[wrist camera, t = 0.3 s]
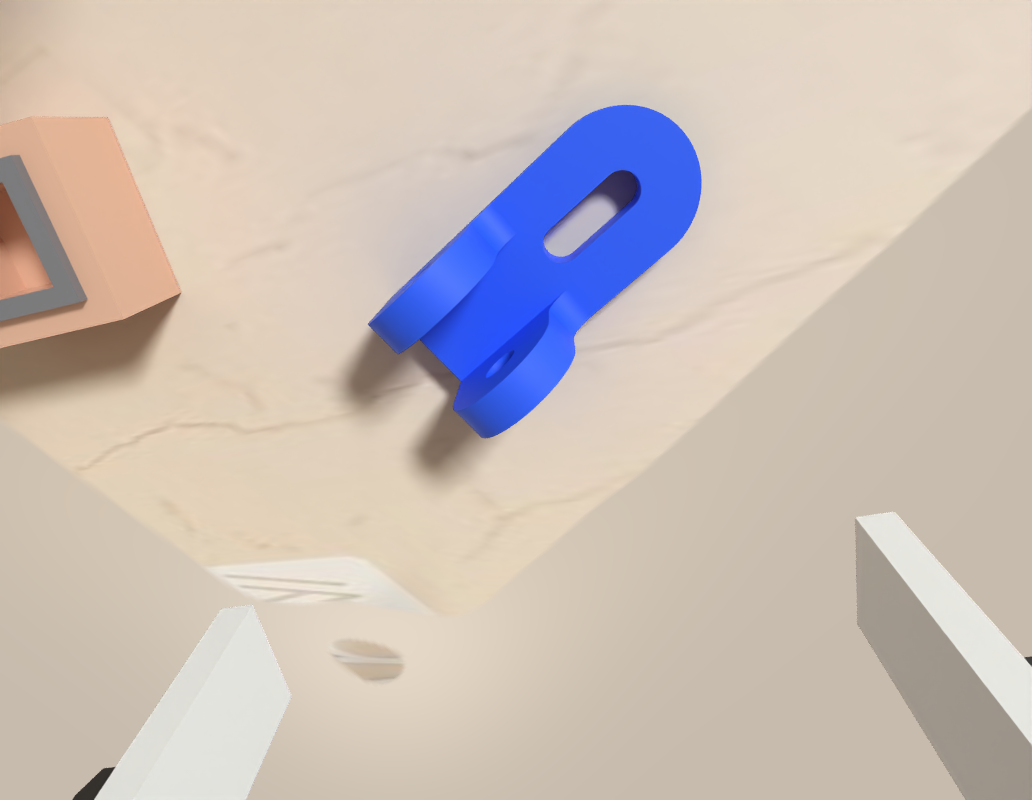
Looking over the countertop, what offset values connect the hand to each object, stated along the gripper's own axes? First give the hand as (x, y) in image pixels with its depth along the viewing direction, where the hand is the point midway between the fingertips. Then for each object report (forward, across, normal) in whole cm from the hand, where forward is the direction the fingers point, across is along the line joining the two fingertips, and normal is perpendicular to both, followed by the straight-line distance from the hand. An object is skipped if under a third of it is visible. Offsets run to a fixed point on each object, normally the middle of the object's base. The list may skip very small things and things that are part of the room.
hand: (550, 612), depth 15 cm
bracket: (+28, +1, +3) cm, 28 cm away
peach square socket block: (+28, -27, +10) cm, 40 cm away
